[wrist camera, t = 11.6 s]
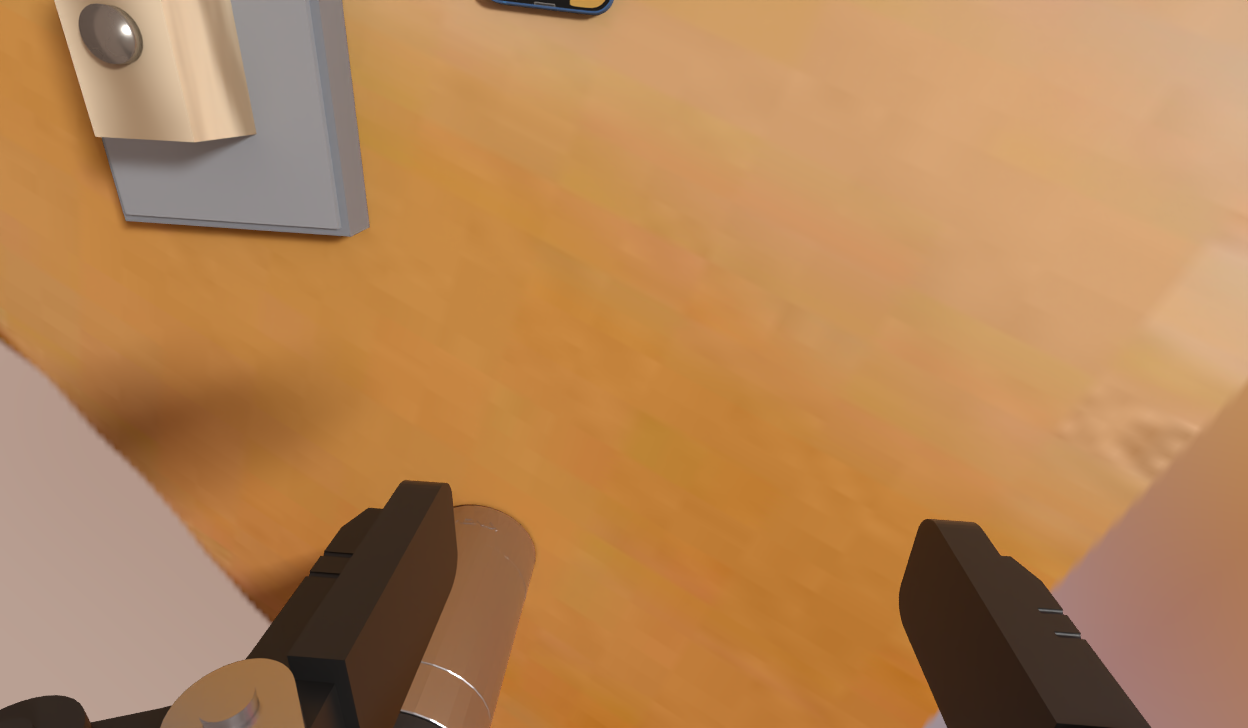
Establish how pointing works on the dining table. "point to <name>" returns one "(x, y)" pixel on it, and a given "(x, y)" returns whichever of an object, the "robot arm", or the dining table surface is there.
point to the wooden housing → (159, 68)
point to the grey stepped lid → (264, 137)
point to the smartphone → (563, 5)
